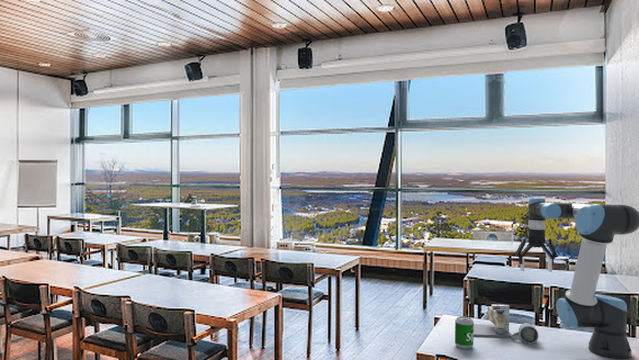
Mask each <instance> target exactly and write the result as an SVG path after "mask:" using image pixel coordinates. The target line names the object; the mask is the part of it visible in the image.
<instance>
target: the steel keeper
mask: <svg viewBox="0 0 639 360" xmlns="http://www.w3.org/2000/svg"><path fill="white" fill-rule="evenodd" d="M490 307H491V309H492V310H496V309H503V310H505V312H504V313H503V314H504V315H505V332H510V305H508V304H491V306H490Z"/></svg>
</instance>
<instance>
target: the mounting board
mask: <svg viewBox="0 0 639 360" xmlns="http://www.w3.org/2000/svg"><path fill="white" fill-rule="evenodd" d="M512 334H513V333H511V332H510V331H509V332H505V328H498V327H497V326H495V325H494V324H486V323H485V324H483V323H481V324H479V323H478V324H477V323H474V337H477V338H478V337H482V338H483V337H484V338H511V339H512V337H511V335H512Z"/></svg>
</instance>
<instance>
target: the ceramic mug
mask: <svg viewBox="0 0 639 360" xmlns="http://www.w3.org/2000/svg"><path fill="white" fill-rule="evenodd" d="M511 334H512V335H511V337H512V338H511V339H512V340H514V341H516V340H521V341H522V342H523V343H525V344H529V345H531V344H535V343H537V341H538V340H539V332H538V330H537V329H536V326H534V325H533V324H531V323H528V322H524V323H522V324H521V325H520V326H519V327H518V331H517V332H514V333H511Z"/></svg>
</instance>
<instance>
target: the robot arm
mask: <svg viewBox="0 0 639 360" xmlns="http://www.w3.org/2000/svg"><path fill="white" fill-rule="evenodd" d="M546 219H547V220H557V219H558V220H559V219H560V220H563V219H564V220H565V219H566V220H568V219H569V220H574V224H575V225H574V227H575V229H576V231H577V232H578V235H579V237H580V238H581V242H580V246H579V252H578V255H577V260H576V263H575V268H574V269H575V270H574V272H573V273H574V274H573V278H572V283H571V286H570V289H568V290H566V291H565V294H564V297H560V298H558V299H557V301H556V303H555V304H556V313H557V316H558V318H559V320H560V323H562V324H563V325H564V326H566V327H569V328H575V329H576V328H593V332H592V334H591V336H590V339H589V341H588V350H589V351H590V352H592V353H594V354H596V355H599V356H601V357H606V358H611V359H617V360H618V359H620V360H627V359H630V358H632V349H631V345H630V343H629V341H628V336H627V331H628V329H627V328H628V325H627V324H628V323H627V320H628V317H627V315H628V314H627V313H628V308H627V307H628V306H627V303H626V301H624V300H623V299H622V298H621V299H620V298H619V297H614V296H610V295H606V294H599V293H596V290H597V286H598V282H599V279H600V274H601V271H602V266H603V263H604V257H605V254H606V251H607V246H608V245H609V244H611V243H613V240H614V239H615V238H614V237H615V235H617V236H618V235H630V234H633V233H635V232H636V231H637V230H639V211H638V210H637V208H635V207H632V206H630V205H626V204H601V203H600V204H599V203H593V204H592V203H591V204H586V203H581V202H574V203H573V202H571V203H570V202H546V198H544V197H529V199H528V227H527V228H528V231H527V232H528V237H527V238H525V237H521V242H520V243H519V245H518V247H517V249H516V251H515V253H514V256H515V257H518V264H519V265H520V268H519V269H520V270H519V271H521V272H525V258H524V257H525V256H526V254H527V253H528V252H529V251H530V250H531V249H532V248H538V249H539V248H541V249H542V250H543V251H544V253H546V255H547V256H548V257H547V272H550V273H553V266H554V265H555V264H554V263H555V259H557V258H558V257H559V255H558V253H557V251H556V248H555V247H554V245H553V242H552V238H549V237H548V238H546V229H545V228H546ZM527 242H528V243H527ZM526 243H527V244H526ZM545 243H546V244H547V246H546V245H545ZM525 246H526V247H525ZM524 247H525V248H524Z"/></svg>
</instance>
